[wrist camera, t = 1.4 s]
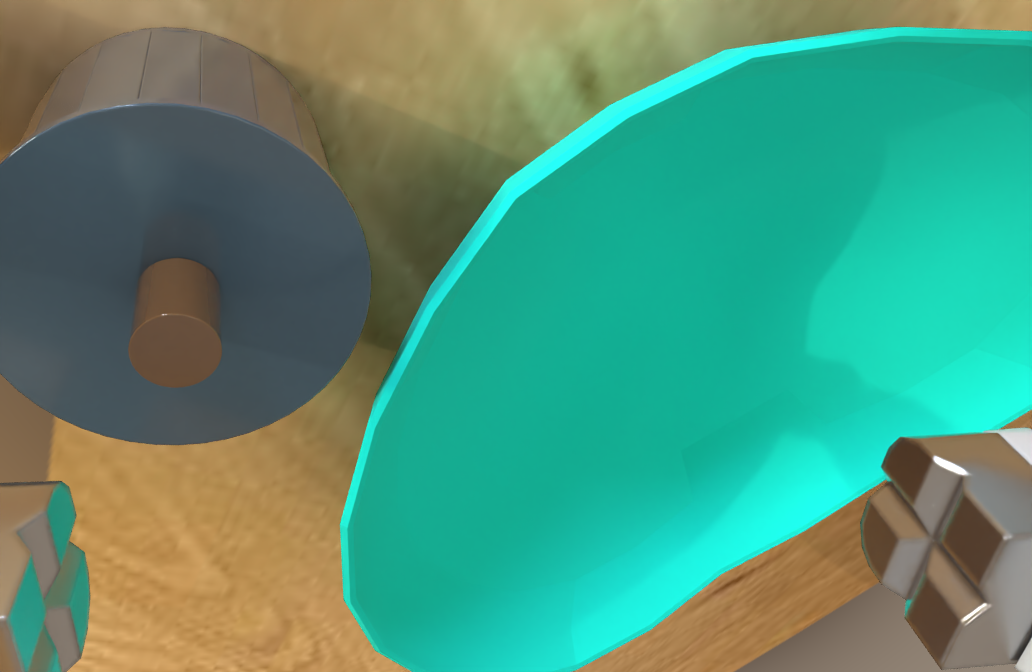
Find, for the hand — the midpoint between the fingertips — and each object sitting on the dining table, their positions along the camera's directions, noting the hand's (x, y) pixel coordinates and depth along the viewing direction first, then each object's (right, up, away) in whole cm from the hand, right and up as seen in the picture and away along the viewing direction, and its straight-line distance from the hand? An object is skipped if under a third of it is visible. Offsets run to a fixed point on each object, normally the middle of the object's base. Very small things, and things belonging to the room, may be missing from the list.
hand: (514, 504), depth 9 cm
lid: (-11, +3, +21) cm, 24 cm away
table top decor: (+7, +5, +40) cm, 41 cm away
